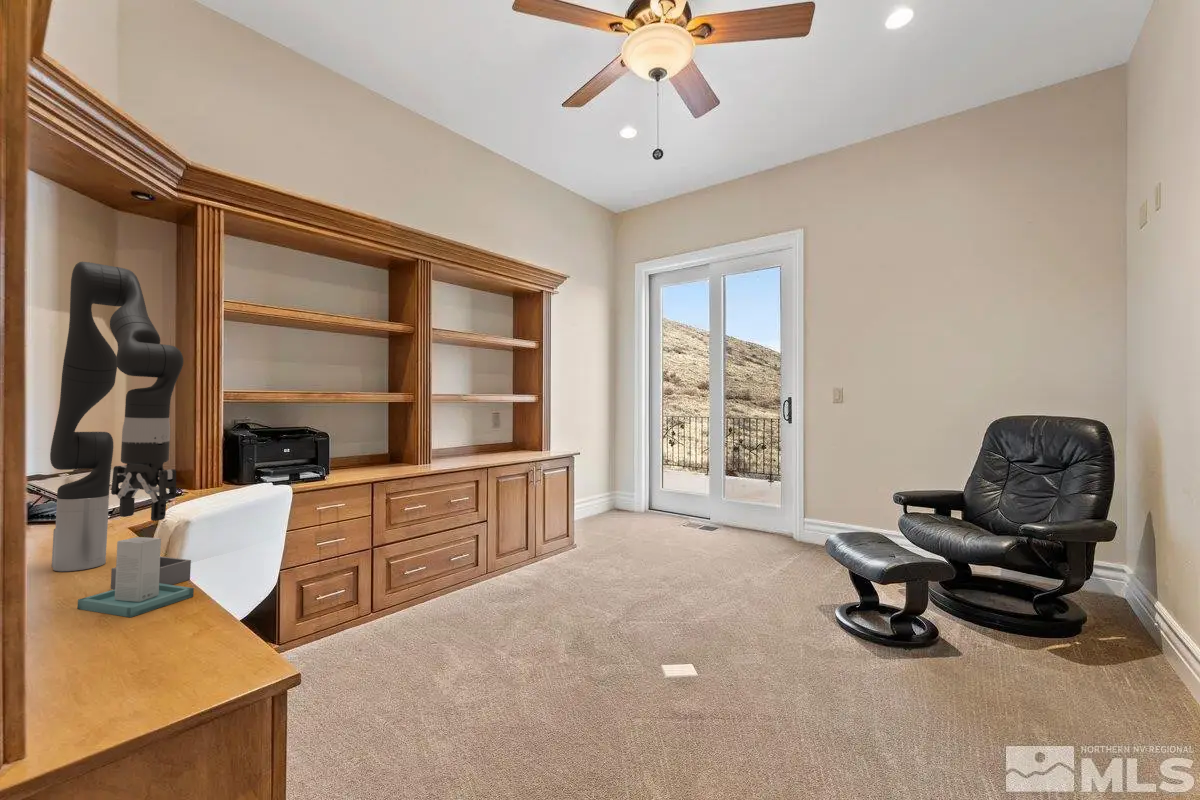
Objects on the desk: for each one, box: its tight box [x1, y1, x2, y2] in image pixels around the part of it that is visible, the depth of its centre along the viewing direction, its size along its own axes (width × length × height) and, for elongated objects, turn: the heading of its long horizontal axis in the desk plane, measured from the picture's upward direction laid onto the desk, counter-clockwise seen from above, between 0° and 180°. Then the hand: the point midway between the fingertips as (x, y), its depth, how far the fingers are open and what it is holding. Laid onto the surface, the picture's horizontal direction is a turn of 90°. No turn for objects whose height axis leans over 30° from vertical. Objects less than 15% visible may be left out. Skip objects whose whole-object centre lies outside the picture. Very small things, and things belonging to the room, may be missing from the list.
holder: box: [110, 555, 192, 590], centre depth 118 cm, size 9×10×4 cm
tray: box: [77, 583, 195, 618], centre depth 107 cm, size 14×12×2 cm
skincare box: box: [115, 536, 162, 602], centre depth 108 cm, size 6×4×12 cm
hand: (142, 518), depth 108 cm, fingers open, 8 cm apart
